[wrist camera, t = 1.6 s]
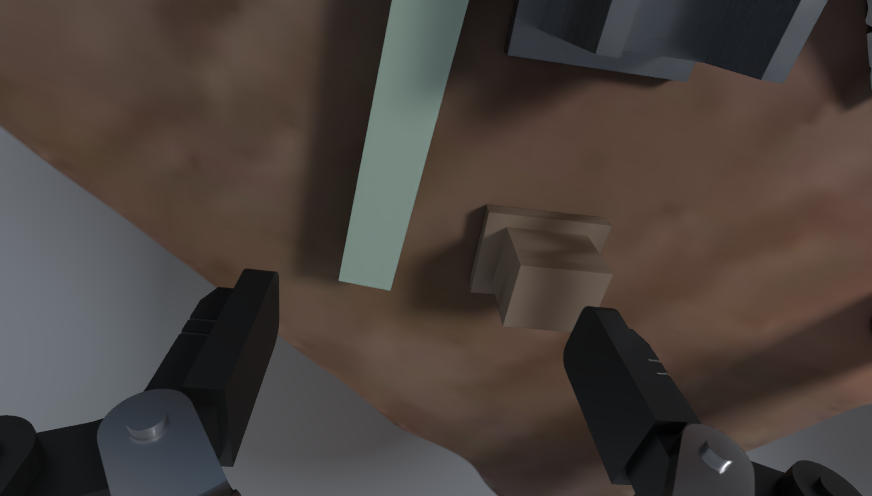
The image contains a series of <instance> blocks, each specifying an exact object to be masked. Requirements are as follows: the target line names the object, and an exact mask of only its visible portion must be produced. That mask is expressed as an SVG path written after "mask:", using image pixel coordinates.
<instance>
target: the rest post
mask: <svg viewBox="0 0 872 496" xmlns="http://www.w3.org/2000/svg"><path fill="white" fill-rule="evenodd" d="M611 227H612V225H611V224H610V223H609V221H608V220H607V219H606V218H602V217H593V216H584V215H575V214H566V213H557V212H548V211H539V210H531V209H522V208H513V207H504V206H495V205H486V210H485V214H484V219H483V223H482V227H481V232H480V236H479V241H478V245H477V250H476V254H475V259H474V263H473V268H472V272H471V276H470V281H469V286H470V291H471V292H473V293H485V294H495V297H496V301H497V305H498V309H499V313H500V317H501V321H502V325H503V326H505V327H517V328H529V329H542V330H554V331H566V332H572V331H573V328H574V326H575V324H576V322H577V320H578V318H579V315H580V313H581V311H582V310H583V308H584V307H586V306H594V307H599V306H600V303H601V301H602V299H603V297H604V294H605V292H606V290H607V287H608V285H609V283H610V280H611V278H612V276H613V273H612V272H611V270H610V269H609V267H608V266H607V264H606V263H605V261H604V260H603V258H602V257H601V252H602V250H603V247H604V245H605V242H606V240H607V237H608V235H609V232H610V230H611Z"/></svg>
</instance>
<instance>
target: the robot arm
mask: <svg viewBox="0 0 872 496" xmlns="http://www.w3.org/2000/svg"><path fill="white" fill-rule="evenodd" d="M278 328H279V275H278V272H274V271H264V270H255V269H244V270H243V272H242V274H241V276H240V277H239V279H238V281H237V283H236V285H235V287H234V289H233V288H223V287H218V288H216V289H215V290H214V291H212V292H211V293H210V294H208V295H207V296H206V297H204V298H203V299H201V300H200V302H199V303H198V305H197V307H196V308H195V310H194V311H193V313H192V314H191V316H190V320H188V321H187V323H186V324H185V326H184V327H183V329H182V333H181V334H179V336H178V337H177V339H176V340H175V342H174V344H173V345H172V347H171V348H170V350H169V352H168V353H167V355H166V357H165V358H164V360H163V361H162V363H161V365H160V366H159V368H158V370H157V371H156V373H155V374H154V376H153V378H152V379H151V381H150V382H149V384H148V386H147V387H146V389H145V390H144V391H143V392H141V393H138V394H136V395H134V396H131V397H129V398H127V399H125V400H124V401H122V402H121V403H119V404H118V405H116V406H115V407H114V408H113V409H112V410H111V411H110V412H109V413H108V414H107V415H106V416H105V417H104V418H103V419H100V420H97V421H93V422H89V423H85V424H79V425H74V426H69V427H64V428H59V429H54V430H49V431H44V432H39V433H36V431H35V429H34V427H33V426H32V424H31V423H30V422H29V421H27V420H25V419H23V418H21V417H17V416H8V415H4V416H0V496H241V494H240V493H239V492H238V491H237V490H236V489H235V490H233V489H232V488H231V486H230V484H229V483H228V481H227V478H226V476H225V474H224V472H223V470H222V467H221V466H228V467H233V465H234V462H235V460H236V456H237V453H238V451H239V448H240V445H241V442H242V439H243V436H244V433H245V430H246V428H247V424H248V422H249V419H250V416H251V413H252V410H253V407H254V404H255V401H256V398H257V396H258V392H259V390H260V387H261V384H262V381H263V378H264V375H265V372H266V369H267V366H268V364H269V360H270V358H271V355H272V352H273V349H274V346H275V342H276V339H277V334H278ZM871 328H872V327H871ZM563 361H564V367H565V370H566V373H567V375H568V378H569V380H570V383H571V385H572V388H573V390H574V393H575V395H576V397H577V400H578V402H579V405H580V407H581V410H582V412H583V415H584V417H585V420H586V422H587V424H588V427H589V429H590V432H591V434H592V437H593V439H594V442H595V444H596V447H597V449H598V451H599V454H600V456H601V459H602V461H603V464H604V466H605V469H606V471H607V474H608V476H609V478H610V481H611V483H612V484H621V485H632V487H633V489H634V491H635V494H634V496H862V495H861V494H860V493H859V492H858V491H857V490H856V489H855V488H854V487H853V486H852V485H851V484H850V483H849V482H848V481H846V480H845V479H844V478H843V477H841V476H840V475H838V474H837V473H835V472H834V471H832V470H831V469H829V468H827V467H825V466H823V465H821V464H818V463H815V462H812V461H807V460H804V461H803V460H801V461H798V462H796V463H795V464H794V465H793V466H791V467H790V468H789V469H788V470H787V471H786V472H785V473H784V472H781V471H777V470H775V469H772V468H769V467H766V466H764V465H761V464H758V463H755V462H752V461H750V459H749V457H748V456H747V455H746V453H745V452H744V451H743V449H742V448H741V447H740V446H739V445H738V444H737V443H736V442H735V441H733V440H732V439H731V438H730V437H728V436H727V435H726V434H724V433H722V432H721V431H719V430H717V429H715V428H713V427H710V426H707V425H703V424H701V423H700V421H699V420H698V418H697V417H696V415H695V413H694V412H693V410H692V409H691V407H690V406H689V404H688V403H687V401H686V400H685V398H684V397H683V395H682V394H681V392H680V391H679V389H678V388H677V386H676V385H675V383H674V382H673V380H672V379H671V377H670V376H668V375H667V371H666V370H665V368H664V366H663V365H662V363H659V359H658V357H657V356H656V354H655V353H654V351H653V350H652V348H651V347H650V345H649V344H648V343H647V342H646V341H645V340H644V339H643V338H642V337H640V336H639V335H638V334H637V333H636V332H635V331H634V330H633V329H629V328H628V326H627V325H626V323H625V322H624V320H623V318H622V317H621V315H620V314H619V312H618V311H617V310H616V309H613V308H603V307H594V306H586V307H584V308H583V310H582V311H581V313H580V315H579V318H578V320H577V322H576V324H575V326H574V328H573V331H572V333H571V335H570V337H569V339H568V341H567V343H566V346H565V349H564V355H563Z"/></svg>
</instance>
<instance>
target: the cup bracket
mask: <svg viewBox="0 0 872 496" xmlns="http://www.w3.org/2000/svg"><path fill="white" fill-rule="evenodd" d="M827 1H828V0H515V1H514V6H513V11H512V16H511V21H510V26H509V30H508V35H507V40H506V45H505V50H504V52H505V53H506V54H507V55H510V56H517V57H524V58H530V59H537V60H543V61H550V62H557V63H563V64H570V65H577V66H583V67H590V68H597V69H603V70H610V71H617V72H623V73H630V74H637V75H643V76H650V77H657V78H663V79H670V80H677V81H683V82H687V80H688V78H689V75H690V73H691V71H692V68H693V66H694V64H695V61H696V62H702V63H707V64H710V65H713V66H717V67H720V68H723V69H727V70H730V71H733V72H737V73H740V74H743V75H747V76H750V77H753V78H756V79H760V80H765V81H772V82H778V83H784V81H785V79H786V77H787V76H788V74H789V72H790V70H791V68H792V66H793V64H794V63H795V61H796V59H797V57H798V55H799V53H800V51H801V49H802V48H803V46H804V44H805V42H806V40H807V38H808V36H809V34H810V33H811V31H812V29H813V27H814V25H815V23H816V21H817V19H818V18H819V16H820V14H821V12H822V10H823V8H824V6H825V4H826V3H827Z"/></svg>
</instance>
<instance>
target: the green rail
mask: <svg viewBox="0 0 872 496" xmlns="http://www.w3.org/2000/svg"><path fill="white" fill-rule="evenodd" d="M468 2H469V0H392V3H391V8H390V14H389V19H388V24H387V29H386V35H385V40H384V45H383V50H382V56H381V61H380V66H379V71H378V77H377V82H376V87H375V92H374V97H373V103H372V108H371V113H370V118H369V124H368V129H367V134H366V139H365V145H364V150H363V155H362V160H361V165H360V171H359V176H358V181H357V186H356V192H355V197H354V202H353V207H352V213H351V218H350V223H349V228H348V233H347V239H346V244H345V249H344V254H343V260H342V265H341V270H340V275H339V281H343V282H348V283H353V284H359V285H364V286H369V287H375V288H380V289H385V290H391V286H392V283H393V279H394V275H395V271H396V268H397V264H398V260H399V257H400V253H401V249H402V246H403V242H404V238H405V235H406V231H407V227H408V223H409V220H410V216H411V212H412V209H413V205H414V201H415V198H416V194H417V190H418V187H419V183H420V179H421V175H422V172H423V168H424V164H425V161H426V157H427V153H428V150H429V146H430V142H431V139H432V135H433V131H434V128H435V124H436V120H437V116H438V113H439V109H440V105H441V102H442V98H443V94H444V91H445V87H446V83H447V80H448V76H449V72H450V68H451V65H452V61H453V57H454V54H455V50H456V46H457V43H458V39H459V35H460V32H461V28H462V24H463V20H464V17H465V13H466V9H467V6H468Z"/></svg>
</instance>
